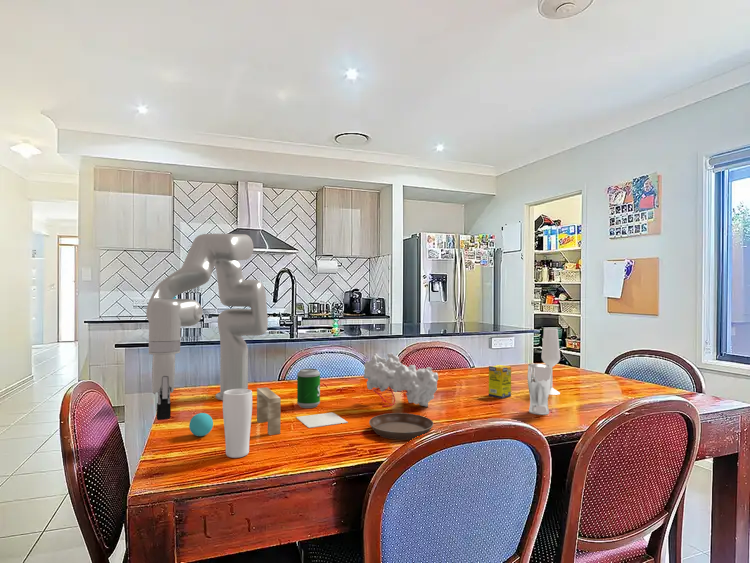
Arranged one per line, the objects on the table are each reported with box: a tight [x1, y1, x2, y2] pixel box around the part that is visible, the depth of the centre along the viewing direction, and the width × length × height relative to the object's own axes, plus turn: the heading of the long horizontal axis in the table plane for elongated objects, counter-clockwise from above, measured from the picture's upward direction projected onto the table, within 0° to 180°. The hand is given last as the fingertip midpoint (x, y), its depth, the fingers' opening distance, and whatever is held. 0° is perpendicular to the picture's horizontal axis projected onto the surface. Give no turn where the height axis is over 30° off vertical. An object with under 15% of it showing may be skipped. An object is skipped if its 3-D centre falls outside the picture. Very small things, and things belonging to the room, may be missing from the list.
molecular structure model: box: [362, 352, 439, 408], centre depth 161 cm, size 20×18×25 cm
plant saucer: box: [368, 412, 434, 441], centre depth 133 cm, size 18×18×3 cm
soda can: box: [296, 368, 321, 409], centre depth 161 cm, size 8×8×12 cm
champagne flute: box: [541, 327, 561, 396], centre depth 181 cm, size 7×7×24 cm
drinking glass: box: [222, 389, 253, 459], centre depth 115 cm, size 7×7×15 cm
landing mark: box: [295, 412, 349, 429], centre depth 144 cm, size 12×12×1 cm
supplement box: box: [488, 364, 512, 399], centre depth 176 cm, size 6×6×11 cm
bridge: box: [256, 386, 282, 436], centre depth 137 cm, size 3×15×10 cm, turn 26°
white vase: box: [527, 363, 551, 416], centre depth 153 cm, size 7×7×15 cm
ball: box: [188, 412, 214, 437], centre depth 129 cm, size 6×6×6 cm
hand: (163, 418), depth 125 cm, fingers closed
